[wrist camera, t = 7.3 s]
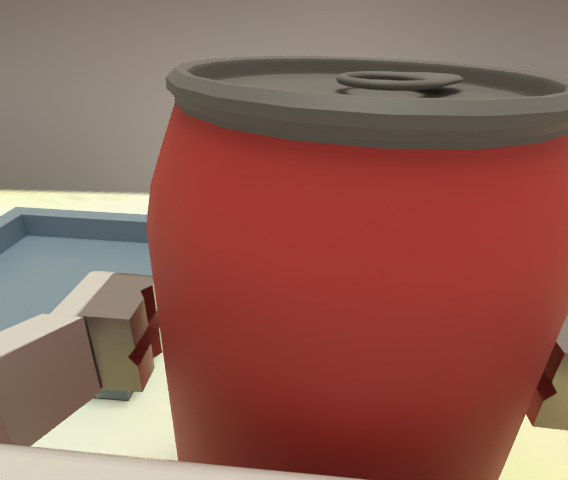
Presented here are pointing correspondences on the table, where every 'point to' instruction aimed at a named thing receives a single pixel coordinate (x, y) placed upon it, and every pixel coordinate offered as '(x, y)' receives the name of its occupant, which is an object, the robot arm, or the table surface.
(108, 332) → the robot arm
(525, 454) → the table surface
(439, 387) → the beer can
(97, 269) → the slate tray
